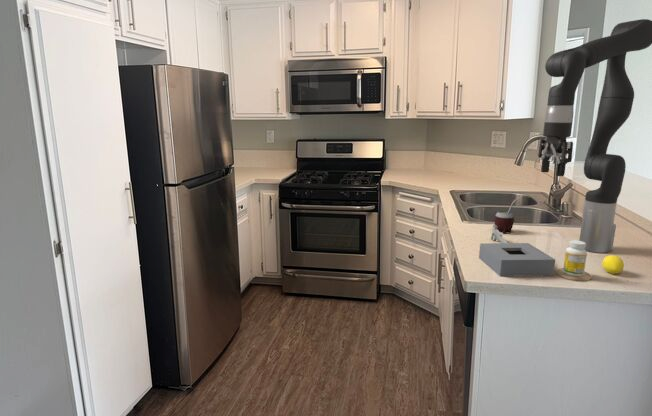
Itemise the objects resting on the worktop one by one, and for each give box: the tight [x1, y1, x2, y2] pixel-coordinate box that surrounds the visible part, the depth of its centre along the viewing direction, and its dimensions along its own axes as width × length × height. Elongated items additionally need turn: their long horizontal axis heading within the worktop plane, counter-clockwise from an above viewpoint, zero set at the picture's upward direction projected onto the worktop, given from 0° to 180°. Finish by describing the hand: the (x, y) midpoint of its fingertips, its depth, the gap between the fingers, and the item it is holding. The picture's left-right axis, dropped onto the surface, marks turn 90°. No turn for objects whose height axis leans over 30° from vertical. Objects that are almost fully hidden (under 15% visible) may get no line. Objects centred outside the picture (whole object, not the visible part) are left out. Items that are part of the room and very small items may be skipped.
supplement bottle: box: [563, 239, 588, 276], centre depth 126 cm, size 5×5×10 cm
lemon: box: [601, 254, 625, 275], centre depth 129 cm, size 7×5×5 cm
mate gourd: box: [494, 197, 521, 235], centre depth 170 cm, size 8×8×15 cm
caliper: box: [490, 224, 509, 243], centre depth 152 cm, size 20×1×6 cm, turn 2°
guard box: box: [478, 242, 556, 277], centre depth 133 cm, size 16×16×5 cm
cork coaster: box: [555, 267, 592, 282], centre depth 127 cm, size 9×9×1 cm
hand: (552, 174), depth 134 cm, fingers open, 8 cm apart
